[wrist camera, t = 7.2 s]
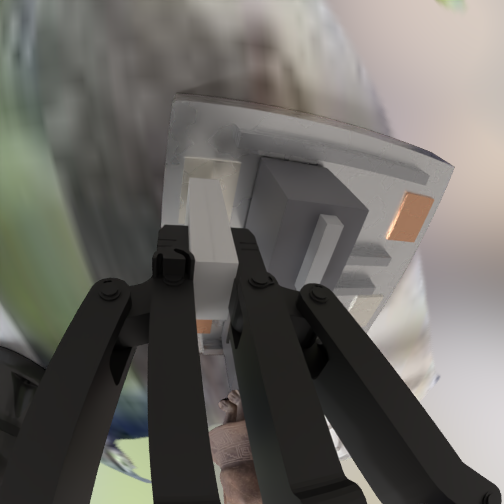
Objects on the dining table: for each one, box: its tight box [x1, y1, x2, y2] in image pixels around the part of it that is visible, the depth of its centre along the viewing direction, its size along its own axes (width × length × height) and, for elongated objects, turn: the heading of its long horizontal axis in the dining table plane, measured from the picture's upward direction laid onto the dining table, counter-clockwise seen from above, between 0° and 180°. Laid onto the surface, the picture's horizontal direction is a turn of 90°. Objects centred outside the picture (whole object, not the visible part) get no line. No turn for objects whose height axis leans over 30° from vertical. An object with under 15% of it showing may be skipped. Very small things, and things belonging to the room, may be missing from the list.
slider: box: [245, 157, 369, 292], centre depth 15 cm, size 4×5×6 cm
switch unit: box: [161, 93, 454, 355], centre depth 22 cm, size 20×20×4 cm
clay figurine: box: [209, 390, 262, 504], centre depth 29 cm, size 13×10×25 cm
